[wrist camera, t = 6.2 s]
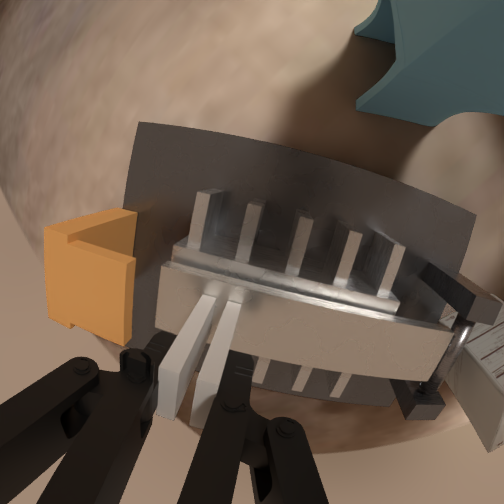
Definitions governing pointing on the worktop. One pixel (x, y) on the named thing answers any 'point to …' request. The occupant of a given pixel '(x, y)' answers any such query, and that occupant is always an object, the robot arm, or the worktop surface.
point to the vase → (437, 59)
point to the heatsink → (298, 244)
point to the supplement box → (481, 379)
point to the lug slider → (92, 273)
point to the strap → (314, 328)
